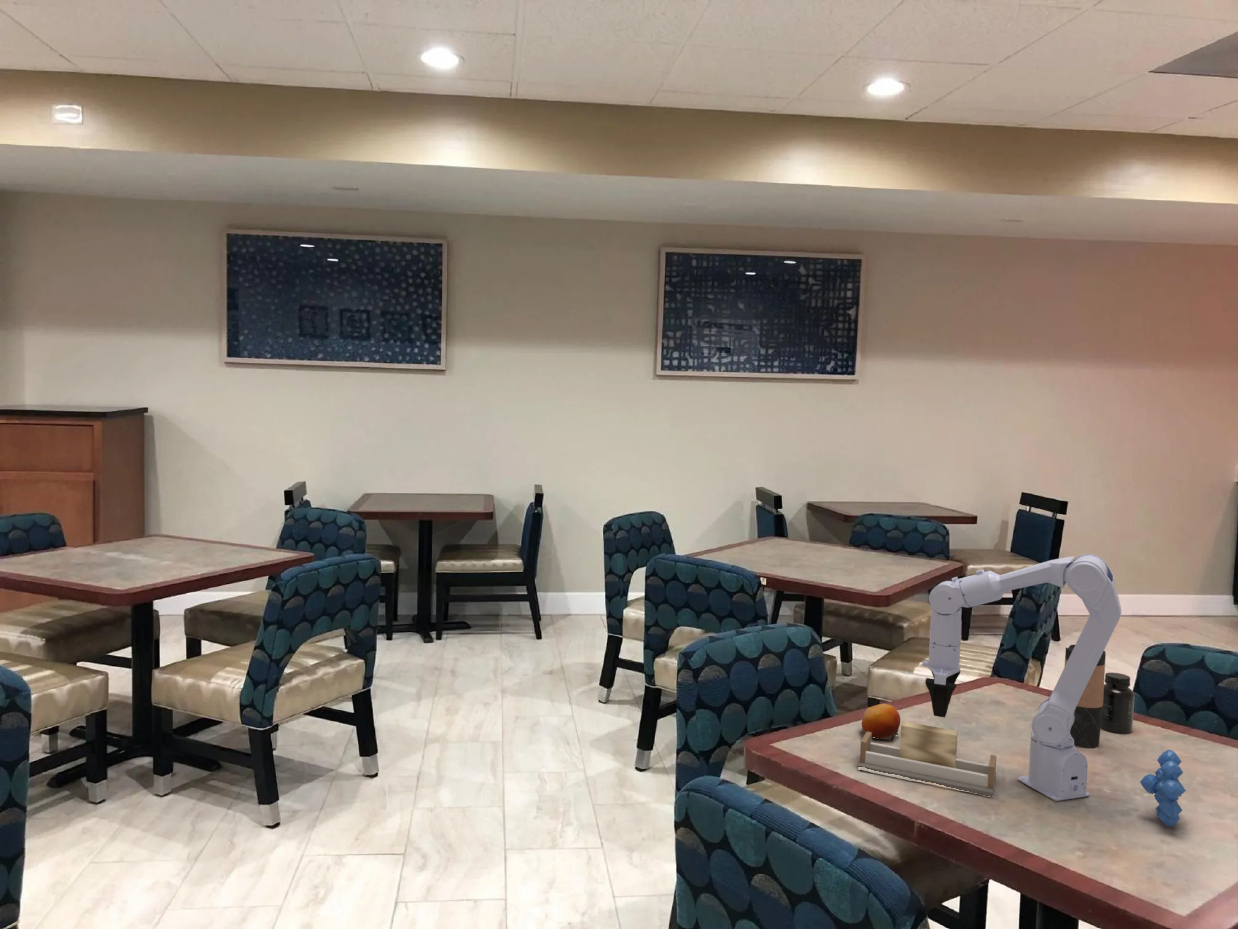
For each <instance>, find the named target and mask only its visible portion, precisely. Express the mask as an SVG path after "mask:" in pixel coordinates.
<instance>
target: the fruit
mask: <svg viewBox="0 0 1238 929" xmlns="http://www.w3.org/2000/svg"><path fill="white" fill-rule="evenodd" d="M900 727H901V716H900V713H899V711H898V710H897V709H896V707H894V706H893V705H892V704H887V703H880V704H876V705H872V706H871V707H868V708H866V709H865V711H864V713H863V715H862V720H861V728H862V729H863V732H864V733H866V732H872V737H875V738H878V739H877V740H886V739H889V740H890V741H891V739H892V738H893V737H894V736H896V735H898V732H899V728H900ZM889 740H888V741H889Z"/></svg>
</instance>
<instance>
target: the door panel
mask: <svg viewBox="0 0 1238 929" xmlns="http://www.w3.org/2000/svg"><path fill="white" fill-rule="evenodd" d="M958 735H959V732H958V730H954V729H949V728H943V727H936V726H933V725H932V726H931V725H926V724H921V723H913V722H909V721H908V722H907V721H902V723H900V735H899V738H900V739H899V748H900V756H899V757H900V758H905V759H911V760H916V761H921V762H926V763H931V764H936V765H941V766H946V767H951V768H956V758H957V753H958V752H957V749H958Z"/></svg>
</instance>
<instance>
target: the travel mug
mask: <svg viewBox="0 0 1238 929" xmlns="http://www.w3.org/2000/svg"><path fill="white" fill-rule="evenodd" d="M1075 645H1076V644H1070V645H1069V646H1068V647H1065V656H1064V666H1065V665H1066V663H1067V661H1068V659H1069V657H1070V655H1071V653H1072V651H1073V649H1074V647H1075ZM1106 655H1107V654H1106V651H1105V650H1104V651H1103V653H1102V655H1101V657H1100V659H1099V661H1098V663H1097V665H1096V667H1095V669H1094V671H1093V674H1092V676H1091V678H1090V680H1089V682H1088V684H1087V686H1086V688H1085V690H1084V692H1083V694H1082V696H1081V698H1080V700H1079V702H1078V704H1077V706H1076V709H1075V711H1074V716H1075V719H1074V723H1073V725H1072V726H1071V729H1070V734H1071V736H1072V738H1073V739H1074V745H1075V747H1079V748H1085V749H1091V748H1092V749H1095V748H1096V747H1098V746H1100V737H1101V730H1102V729H1101V719H1102V709H1103V694H1104V684H1105V674H1106V670H1105V669H1106Z"/></svg>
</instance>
